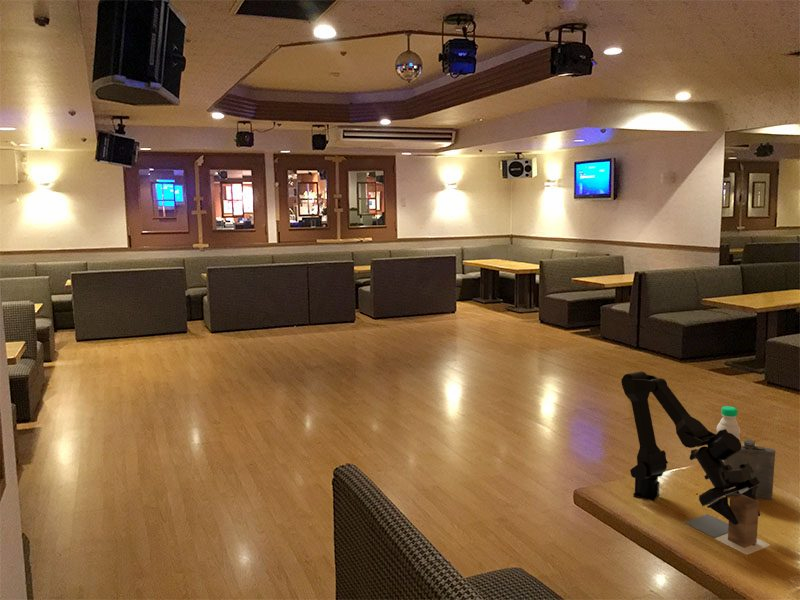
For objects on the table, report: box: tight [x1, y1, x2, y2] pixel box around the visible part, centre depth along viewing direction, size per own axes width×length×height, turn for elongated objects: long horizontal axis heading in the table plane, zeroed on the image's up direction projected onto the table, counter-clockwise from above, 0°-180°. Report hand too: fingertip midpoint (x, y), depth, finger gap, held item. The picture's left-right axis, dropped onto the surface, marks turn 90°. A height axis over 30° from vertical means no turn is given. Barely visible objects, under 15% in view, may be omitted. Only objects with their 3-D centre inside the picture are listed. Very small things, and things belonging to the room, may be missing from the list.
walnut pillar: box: [728, 495, 760, 548], centre depth 180 cm, size 5×5×12 cm
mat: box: [683, 513, 729, 539], centre depth 190 cm, size 10×10×1 cm
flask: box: [723, 439, 776, 501], centre depth 207 cm, size 4×14×18 cm, turn 75°
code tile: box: [713, 533, 771, 556], centre depth 181 cm, size 10×10×1 cm
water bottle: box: [716, 405, 741, 461], centre depth 218 cm, size 7×7×25 cm
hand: (748, 520), depth 179 cm, fingers open, 9 cm apart
